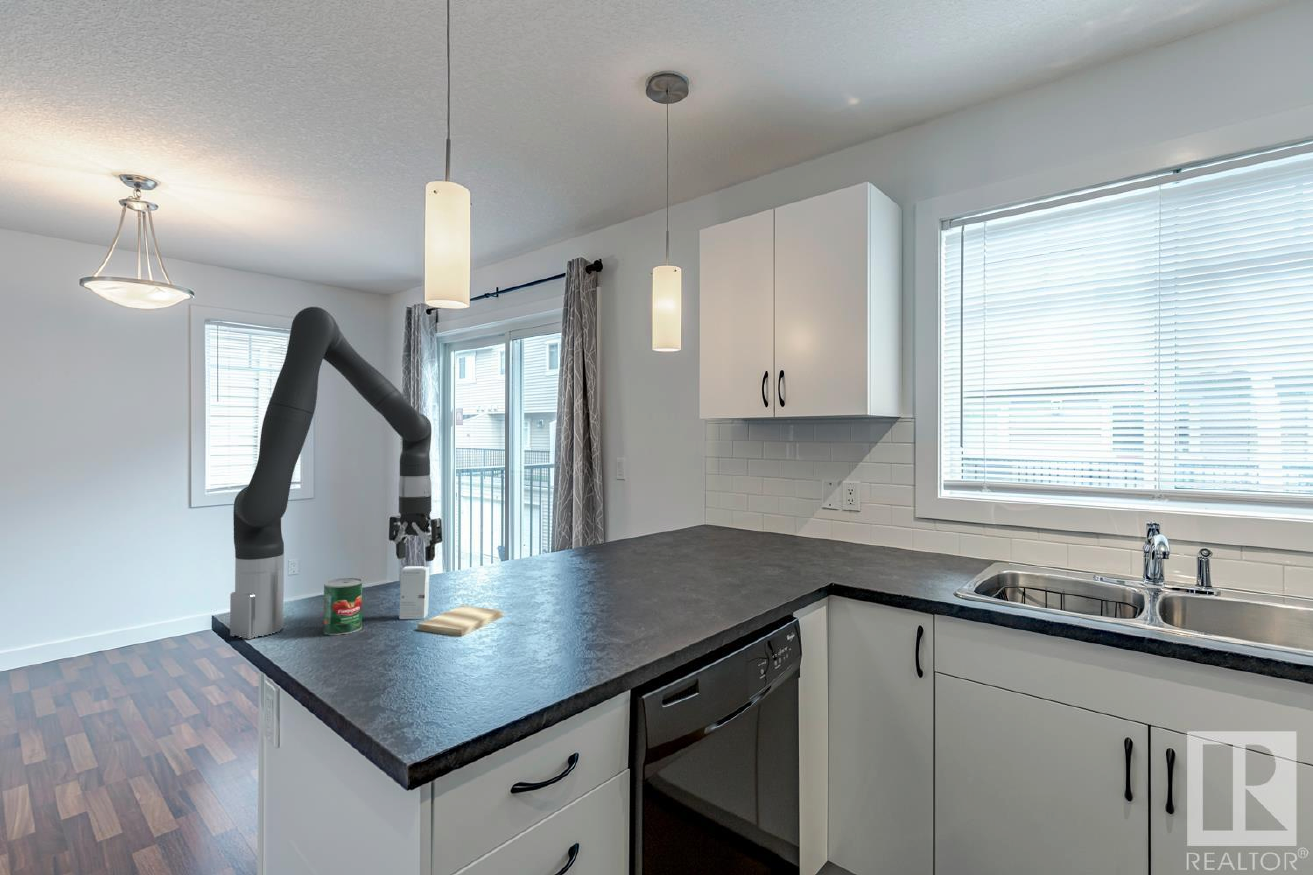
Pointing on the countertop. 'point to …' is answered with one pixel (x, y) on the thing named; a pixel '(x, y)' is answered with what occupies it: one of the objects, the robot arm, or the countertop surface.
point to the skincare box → (414, 592)
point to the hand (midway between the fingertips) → (415, 559)
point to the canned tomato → (342, 606)
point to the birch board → (460, 620)
